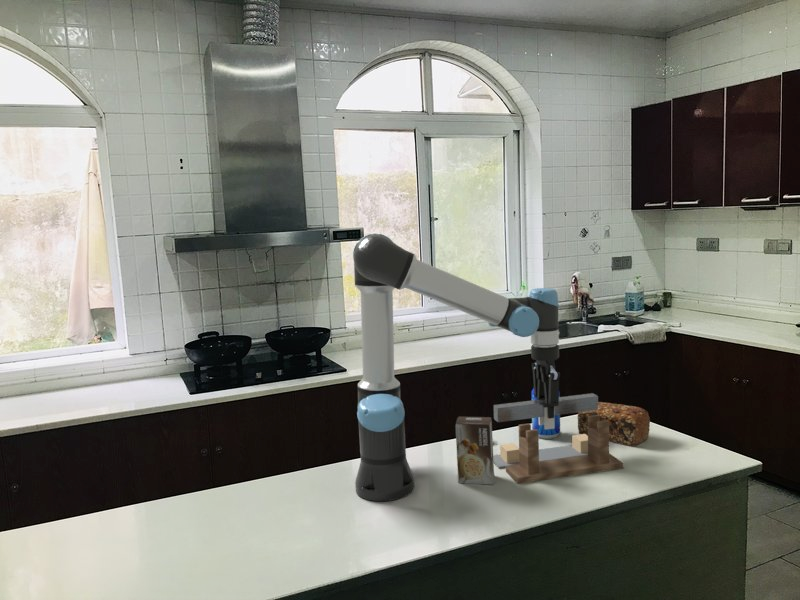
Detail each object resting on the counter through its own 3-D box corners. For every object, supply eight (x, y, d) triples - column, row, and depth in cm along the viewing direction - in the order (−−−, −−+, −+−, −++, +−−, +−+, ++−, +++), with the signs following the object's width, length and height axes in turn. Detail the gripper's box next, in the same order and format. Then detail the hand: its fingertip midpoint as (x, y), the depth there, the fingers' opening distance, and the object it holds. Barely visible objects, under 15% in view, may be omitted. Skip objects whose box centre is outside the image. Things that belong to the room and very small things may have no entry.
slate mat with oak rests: (498, 468, 174) (498, 454, 173) (488, 457, 182) (488, 444, 181) (606, 453, 180) (606, 440, 180) (591, 444, 188) (591, 430, 188)
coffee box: (495, 475, 170) (493, 416, 168) (492, 485, 164) (490, 424, 161) (460, 473, 172) (458, 415, 170) (457, 483, 166) (454, 423, 164)
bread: (650, 438, 190) (651, 406, 189) (633, 449, 183) (633, 415, 182) (594, 425, 204) (593, 395, 203) (576, 434, 197) (575, 403, 195)
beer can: (560, 440, 192) (560, 388, 190) (532, 439, 194) (531, 388, 192) (559, 430, 201) (558, 380, 198) (532, 430, 202) (531, 380, 200)
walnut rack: (517, 483, 164) (516, 434, 162) (505, 471, 172) (504, 424, 170) (623, 468, 170) (623, 421, 168) (607, 457, 178) (607, 412, 176)
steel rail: (497, 422, 175) (497, 408, 174) (494, 419, 178) (493, 405, 177) (598, 409, 181) (598, 396, 180) (592, 406, 184) (592, 393, 183)
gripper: (571, 348, 170) (572, 434, 173) (544, 337, 185) (546, 416, 188) (544, 351, 168) (546, 437, 171) (520, 340, 184) (522, 419, 187)
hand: (546, 426), depth 180 cm, fingers closed on steel rail, 3 cm apart
